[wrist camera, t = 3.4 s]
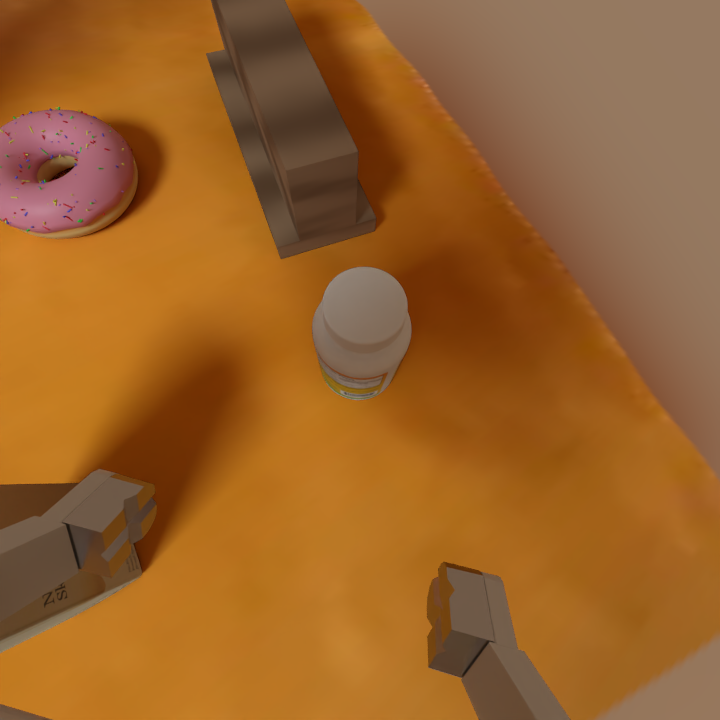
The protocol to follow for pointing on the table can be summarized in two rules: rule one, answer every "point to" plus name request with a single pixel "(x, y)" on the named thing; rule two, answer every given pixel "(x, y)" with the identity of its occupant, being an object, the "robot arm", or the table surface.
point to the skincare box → (71, 596)
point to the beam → (288, 128)
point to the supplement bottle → (361, 332)
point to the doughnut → (75, 189)
